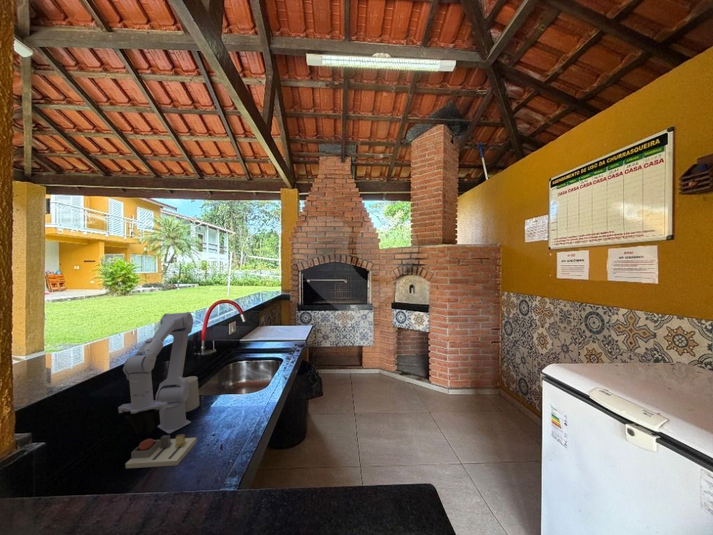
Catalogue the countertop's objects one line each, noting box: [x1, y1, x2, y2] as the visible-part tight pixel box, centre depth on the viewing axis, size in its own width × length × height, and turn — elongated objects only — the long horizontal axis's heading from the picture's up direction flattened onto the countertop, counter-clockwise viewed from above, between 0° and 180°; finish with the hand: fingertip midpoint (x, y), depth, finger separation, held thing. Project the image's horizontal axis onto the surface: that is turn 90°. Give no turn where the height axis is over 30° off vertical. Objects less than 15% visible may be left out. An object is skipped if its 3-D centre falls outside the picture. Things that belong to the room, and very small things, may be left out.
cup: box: [175, 375, 200, 413], centre depth 121 cm, size 8×8×12 cm
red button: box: [138, 438, 154, 451], centre depth 91 cm, size 4×4×2 cm
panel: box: [124, 437, 198, 469], centre depth 92 cm, size 16×11×4 cm
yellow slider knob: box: [175, 433, 187, 447], centre depth 93 cm, size 3×2×3 cm, turn 91°
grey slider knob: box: [160, 434, 172, 448], centre depth 93 cm, size 3×2×3 cm, turn 91°
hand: (145, 431), depth 91 cm, fingers open, 3 cm apart
